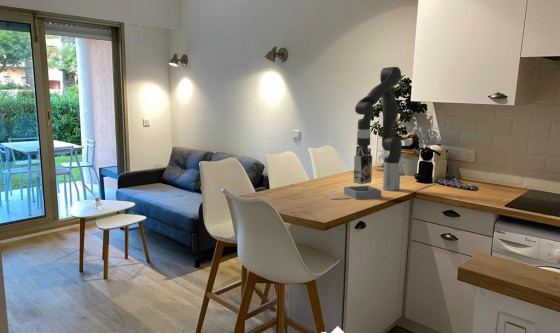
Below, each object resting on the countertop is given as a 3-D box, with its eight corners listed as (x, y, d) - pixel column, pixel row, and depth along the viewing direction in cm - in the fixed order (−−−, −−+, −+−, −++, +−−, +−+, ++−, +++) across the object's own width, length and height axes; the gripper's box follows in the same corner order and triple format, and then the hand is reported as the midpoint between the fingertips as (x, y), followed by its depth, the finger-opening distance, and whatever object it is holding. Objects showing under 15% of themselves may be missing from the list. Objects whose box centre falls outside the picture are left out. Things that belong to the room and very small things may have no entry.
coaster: (342, 194, 248) (342, 193, 248) (350, 198, 237) (350, 197, 237) (323, 195, 245) (323, 194, 245) (331, 199, 234) (331, 198, 234)
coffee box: (361, 184, 239) (362, 156, 236) (353, 182, 244) (353, 155, 241) (372, 182, 244) (372, 155, 242) (363, 181, 249) (364, 154, 247)
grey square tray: (368, 191, 255) (368, 185, 254) (380, 197, 240) (381, 190, 239) (344, 193, 251) (344, 186, 250) (355, 199, 236) (355, 192, 235)
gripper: (375, 137, 234) (374, 166, 237) (364, 136, 248) (363, 162, 250) (363, 138, 232) (362, 166, 235) (352, 136, 246) (351, 163, 248)
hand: (363, 164), depth 243 cm, fingers closed on coffee box, 8 cm apart
